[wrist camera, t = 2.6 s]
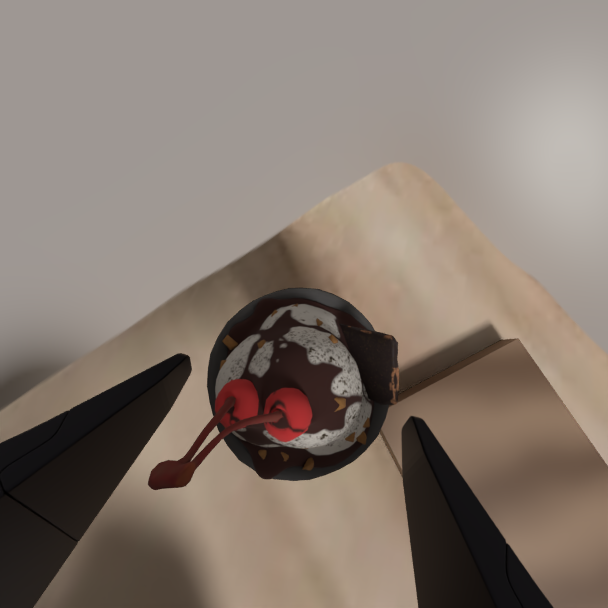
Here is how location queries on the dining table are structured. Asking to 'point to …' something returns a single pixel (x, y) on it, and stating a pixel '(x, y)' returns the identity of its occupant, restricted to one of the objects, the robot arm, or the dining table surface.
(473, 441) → the board
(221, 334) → the sundae
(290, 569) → the dining table surface
